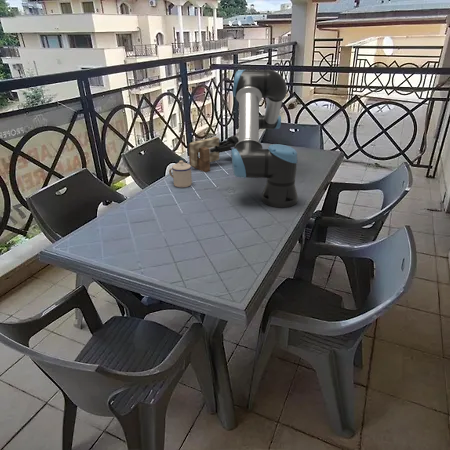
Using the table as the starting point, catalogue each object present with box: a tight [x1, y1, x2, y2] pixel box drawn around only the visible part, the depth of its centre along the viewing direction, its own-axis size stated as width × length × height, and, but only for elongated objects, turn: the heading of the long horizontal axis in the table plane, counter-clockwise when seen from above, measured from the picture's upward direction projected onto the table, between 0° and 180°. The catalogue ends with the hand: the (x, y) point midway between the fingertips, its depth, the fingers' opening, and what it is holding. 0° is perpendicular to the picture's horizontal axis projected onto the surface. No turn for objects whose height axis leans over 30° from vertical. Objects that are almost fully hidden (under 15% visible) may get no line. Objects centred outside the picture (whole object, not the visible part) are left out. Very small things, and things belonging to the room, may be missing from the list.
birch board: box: [189, 136, 220, 168], centre depth 184 cm, size 17×3×12 cm, turn 131°
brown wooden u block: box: [187, 143, 211, 173], centre depth 183 cm, size 14×3×12 cm, turn 41°
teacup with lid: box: [168, 160, 193, 188], centre depth 164 cm, size 12×9×12 cm
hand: (202, 151), depth 183 cm, fingers closed on birch board, 3 cm apart
